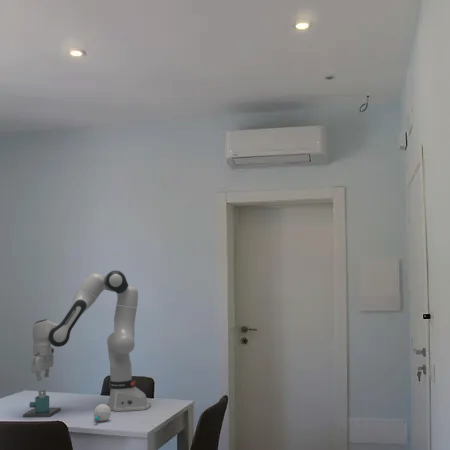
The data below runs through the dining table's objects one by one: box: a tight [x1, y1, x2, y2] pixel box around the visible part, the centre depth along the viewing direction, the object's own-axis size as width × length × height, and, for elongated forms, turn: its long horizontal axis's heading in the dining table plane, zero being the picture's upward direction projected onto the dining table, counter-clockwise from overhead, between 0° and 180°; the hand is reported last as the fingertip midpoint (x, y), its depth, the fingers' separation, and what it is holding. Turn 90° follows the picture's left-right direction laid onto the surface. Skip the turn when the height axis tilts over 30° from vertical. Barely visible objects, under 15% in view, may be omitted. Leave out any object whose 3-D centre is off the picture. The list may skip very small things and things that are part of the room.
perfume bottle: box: [93, 403, 112, 423], centre depth 280 cm, size 8×8×12 cm
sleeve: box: [28, 394, 50, 412], centre depth 301 cm, size 9×6×7 cm
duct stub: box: [22, 389, 62, 418], centre depth 301 cm, size 14×14×12 cm
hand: (43, 378), depth 302 cm, fingers open, 8 cm apart
